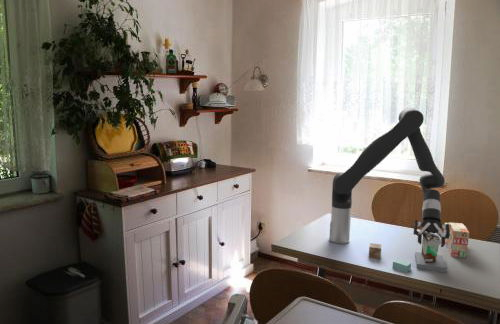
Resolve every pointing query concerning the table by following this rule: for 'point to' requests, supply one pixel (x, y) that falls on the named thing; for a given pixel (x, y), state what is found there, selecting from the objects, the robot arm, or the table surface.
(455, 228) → the stack of blocks
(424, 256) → the food container
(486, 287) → the table surface
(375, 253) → the walnut block
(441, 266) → the slate board
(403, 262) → the teal block
